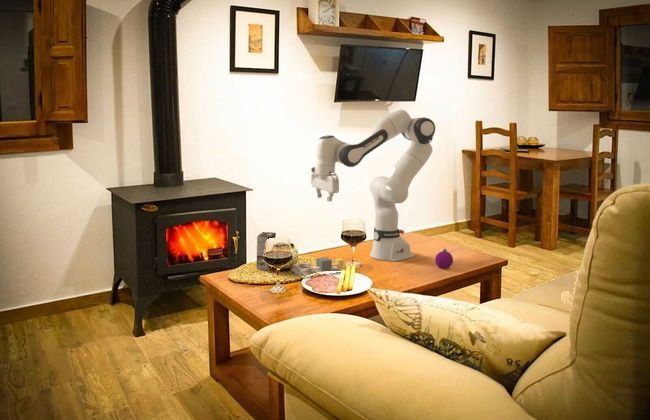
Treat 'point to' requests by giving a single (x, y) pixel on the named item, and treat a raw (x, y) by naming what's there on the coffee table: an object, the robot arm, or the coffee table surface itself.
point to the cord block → (328, 263)
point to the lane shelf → (309, 269)
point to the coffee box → (260, 249)
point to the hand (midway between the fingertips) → (324, 199)
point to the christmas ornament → (444, 259)
